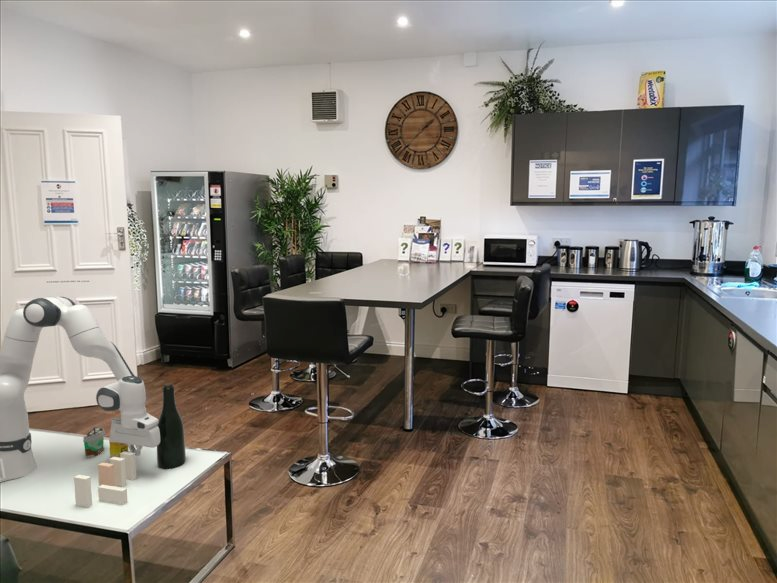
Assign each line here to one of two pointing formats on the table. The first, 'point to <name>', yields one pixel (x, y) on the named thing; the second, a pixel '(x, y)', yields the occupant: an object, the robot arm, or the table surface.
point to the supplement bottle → (117, 448)
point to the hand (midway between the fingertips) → (135, 455)
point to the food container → (94, 442)
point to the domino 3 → (106, 474)
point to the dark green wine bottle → (170, 432)
